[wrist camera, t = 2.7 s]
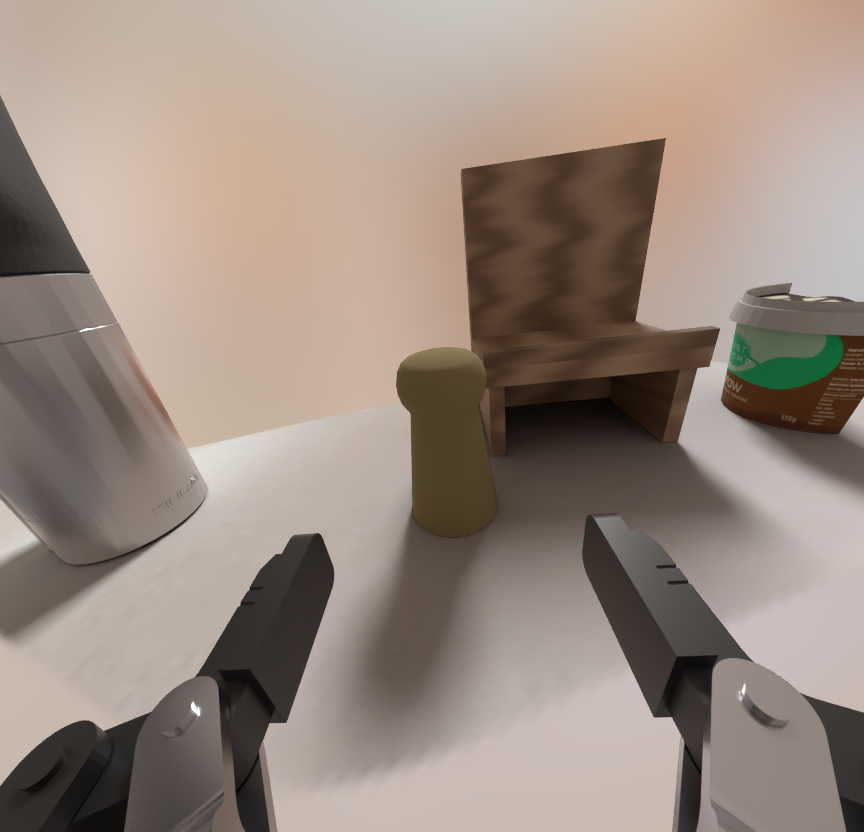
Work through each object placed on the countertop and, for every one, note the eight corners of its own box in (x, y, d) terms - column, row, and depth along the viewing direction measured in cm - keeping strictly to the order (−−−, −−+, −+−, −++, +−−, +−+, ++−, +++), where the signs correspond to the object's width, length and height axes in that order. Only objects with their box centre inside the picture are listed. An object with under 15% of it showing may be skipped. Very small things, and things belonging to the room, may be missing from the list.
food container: (683, 384, 35) (707, 288, 31) (751, 383, 33) (787, 282, 29) (751, 441, 25) (803, 309, 20) (856, 444, 23) (937, 300, 18)
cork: (442, 553, 19) (417, 379, 14) (397, 499, 23) (367, 355, 18) (516, 508, 21) (517, 347, 16) (462, 467, 26) (451, 334, 21)
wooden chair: (487, 459, 26) (472, 120, 17) (474, 403, 37) (460, 173, 27) (687, 443, 25) (795, 67, 16) (615, 390, 36) (653, 144, 26)
